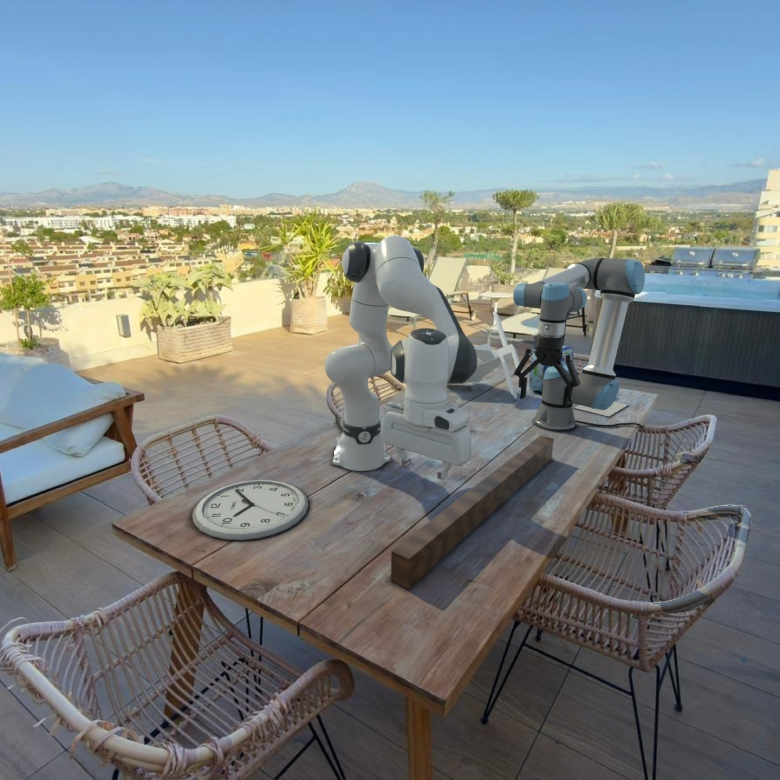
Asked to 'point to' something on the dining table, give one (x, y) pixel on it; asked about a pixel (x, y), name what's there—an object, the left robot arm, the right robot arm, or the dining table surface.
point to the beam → (466, 514)
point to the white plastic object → (495, 359)
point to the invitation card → (608, 412)
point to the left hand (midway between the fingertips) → (423, 472)
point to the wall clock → (250, 510)
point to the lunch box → (543, 371)
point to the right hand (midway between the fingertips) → (543, 402)
